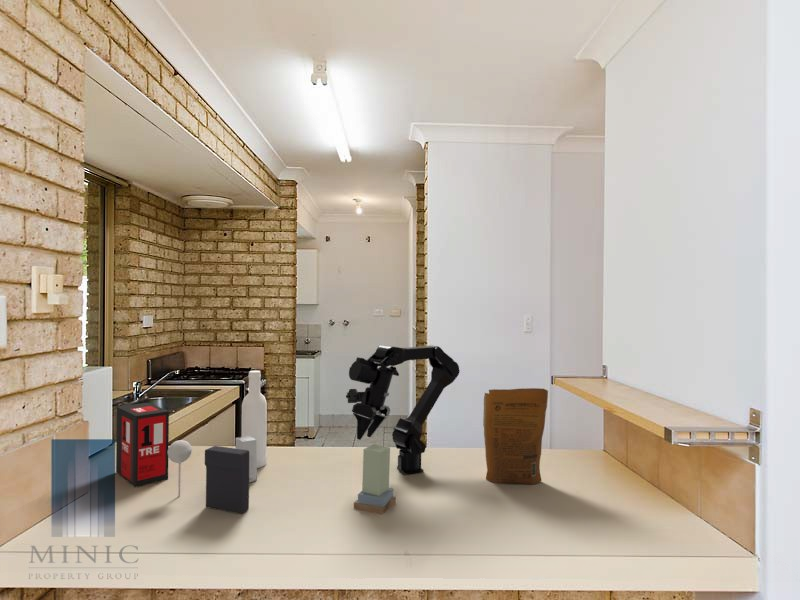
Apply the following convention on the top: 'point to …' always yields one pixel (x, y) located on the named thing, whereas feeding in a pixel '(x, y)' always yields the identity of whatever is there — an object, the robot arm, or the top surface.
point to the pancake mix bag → (514, 434)
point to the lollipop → (179, 454)
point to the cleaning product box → (142, 443)
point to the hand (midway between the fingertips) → (363, 438)
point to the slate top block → (375, 498)
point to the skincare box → (249, 445)
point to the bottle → (255, 417)
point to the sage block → (376, 469)
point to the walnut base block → (374, 508)
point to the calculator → (227, 479)
